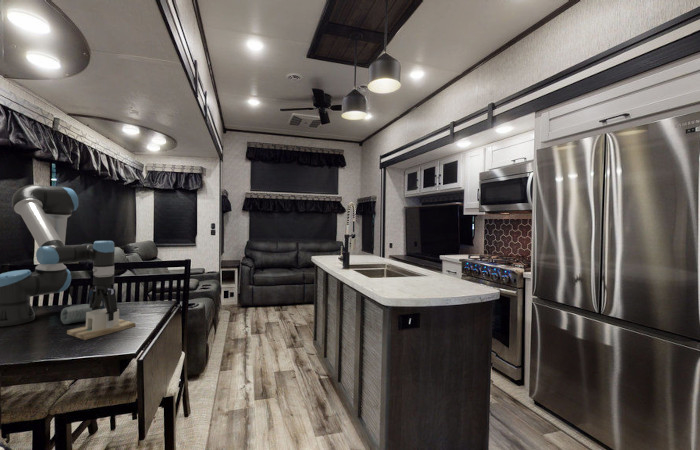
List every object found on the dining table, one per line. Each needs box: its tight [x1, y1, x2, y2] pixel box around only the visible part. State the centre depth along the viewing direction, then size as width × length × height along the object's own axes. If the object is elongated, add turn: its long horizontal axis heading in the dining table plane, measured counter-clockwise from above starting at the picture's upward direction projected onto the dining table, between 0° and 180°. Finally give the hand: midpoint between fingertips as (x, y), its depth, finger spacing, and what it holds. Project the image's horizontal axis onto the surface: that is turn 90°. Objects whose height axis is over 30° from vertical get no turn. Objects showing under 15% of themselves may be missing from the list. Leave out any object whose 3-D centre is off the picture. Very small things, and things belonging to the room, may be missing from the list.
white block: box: [85, 307, 120, 331], centre depth 146 cm, size 6×10×7 cm, turn 154°
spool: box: [60, 303, 93, 325], centre depth 156 cm, size 14×10×10 cm
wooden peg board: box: [66, 318, 136, 341], centre depth 146 cm, size 14×20×6 cm
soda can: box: [88, 288, 106, 309], centre depth 174 cm, size 7×7×12 cm
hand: (102, 325), depth 146 cm, fingers open, 9 cm apart
